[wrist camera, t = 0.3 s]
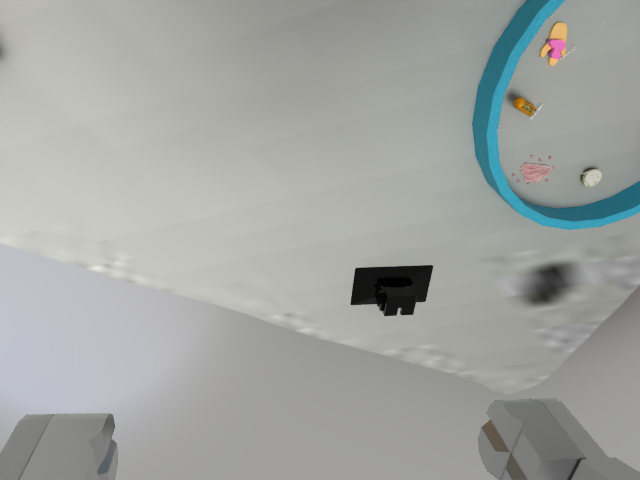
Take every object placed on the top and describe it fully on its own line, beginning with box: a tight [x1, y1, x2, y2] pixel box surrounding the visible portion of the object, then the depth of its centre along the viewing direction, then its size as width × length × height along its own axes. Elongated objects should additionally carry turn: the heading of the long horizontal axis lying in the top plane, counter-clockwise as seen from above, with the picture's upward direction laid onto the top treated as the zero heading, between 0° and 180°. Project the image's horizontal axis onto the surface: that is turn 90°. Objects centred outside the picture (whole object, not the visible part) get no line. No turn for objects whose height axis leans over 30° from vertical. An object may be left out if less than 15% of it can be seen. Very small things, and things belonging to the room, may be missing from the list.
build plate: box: [351, 265, 433, 316], centre depth 57 cm, size 13×8×5 cm, turn 87°
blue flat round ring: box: [472, 0, 640, 230], centre depth 46 cm, size 30×30×6 cm
